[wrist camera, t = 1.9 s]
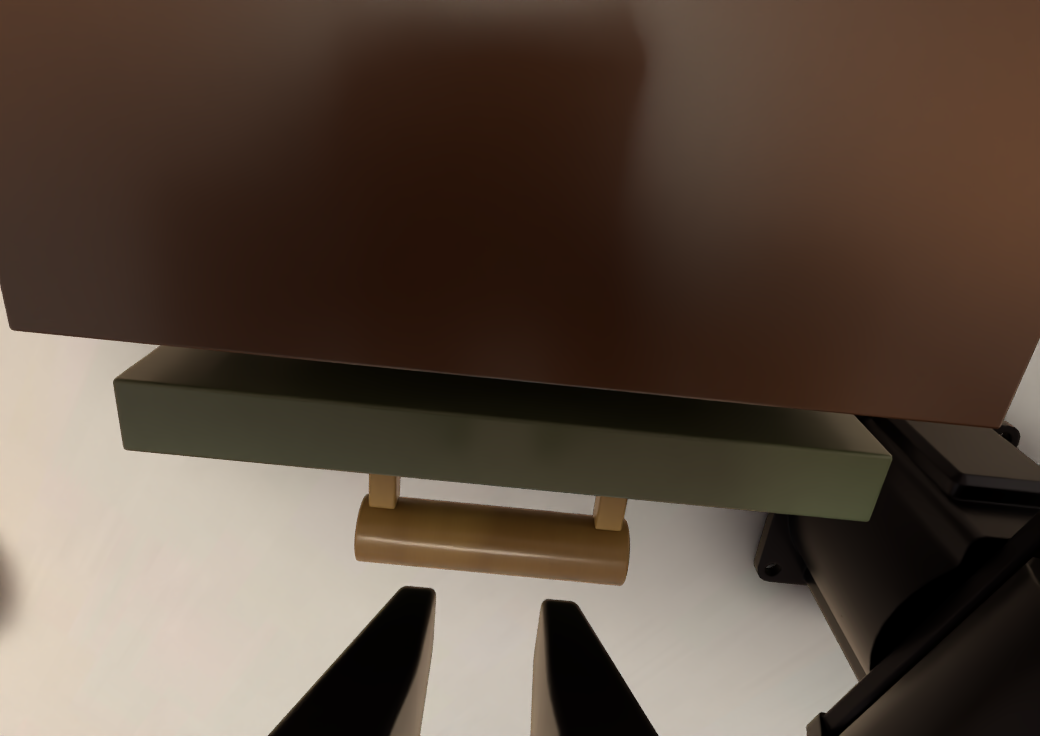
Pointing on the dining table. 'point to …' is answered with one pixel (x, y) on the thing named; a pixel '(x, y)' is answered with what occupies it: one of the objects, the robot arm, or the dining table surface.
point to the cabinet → (541, 190)
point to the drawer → (498, 453)
